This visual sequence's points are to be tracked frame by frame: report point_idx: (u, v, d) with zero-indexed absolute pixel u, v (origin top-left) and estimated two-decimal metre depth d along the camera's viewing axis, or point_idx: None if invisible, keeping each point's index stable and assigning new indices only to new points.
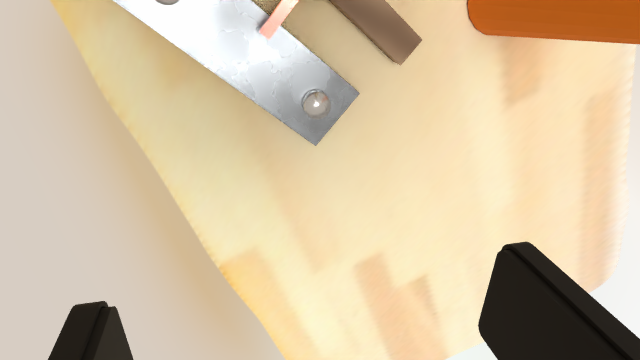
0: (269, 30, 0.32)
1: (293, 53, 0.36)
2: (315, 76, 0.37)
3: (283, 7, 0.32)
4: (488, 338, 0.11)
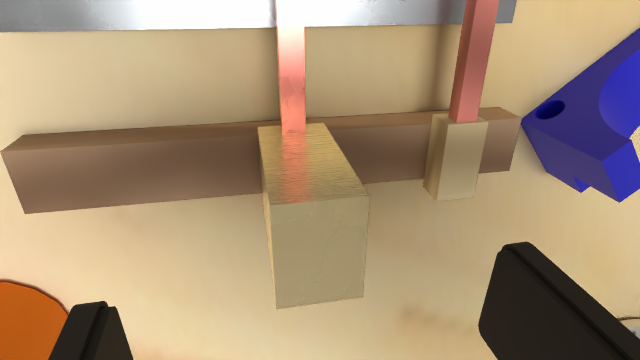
0: (287, 7, 0.14)
1: None
2: None
3: (294, 66, 0.15)
4: (488, 338, 0.11)
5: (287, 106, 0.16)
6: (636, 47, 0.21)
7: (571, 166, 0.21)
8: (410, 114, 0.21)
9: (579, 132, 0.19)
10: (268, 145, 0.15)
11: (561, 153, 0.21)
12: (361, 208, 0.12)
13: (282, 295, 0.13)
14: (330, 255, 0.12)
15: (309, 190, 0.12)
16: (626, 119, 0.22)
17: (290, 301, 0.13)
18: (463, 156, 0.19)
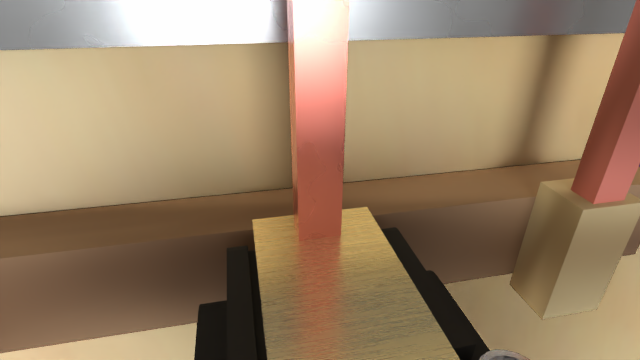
0: (315, 8, 0.07)
1: None
2: None
3: (325, 124, 0.08)
4: None
5: (308, 195, 0.08)
6: None
7: None
8: (491, 173, 0.13)
9: None
10: (275, 279, 0.08)
11: None
12: None
13: None
14: None
15: None
16: None
17: None
18: (595, 255, 0.11)
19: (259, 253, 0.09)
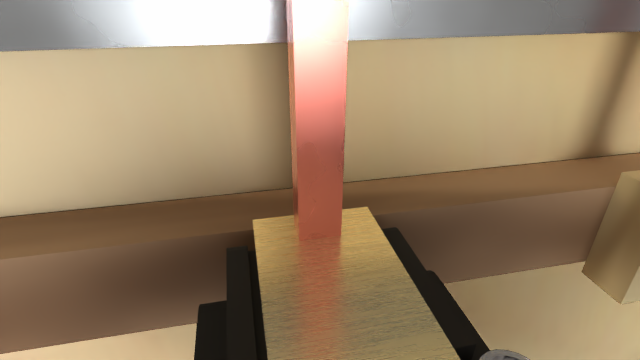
0: (315, 8, 0.07)
1: None
2: None
3: (325, 124, 0.08)
4: None
5: (308, 195, 0.08)
6: None
7: None
8: (565, 164, 0.14)
9: None
10: (275, 279, 0.08)
11: None
12: None
13: None
14: None
15: None
16: None
17: None
18: None
19: (259, 253, 0.09)
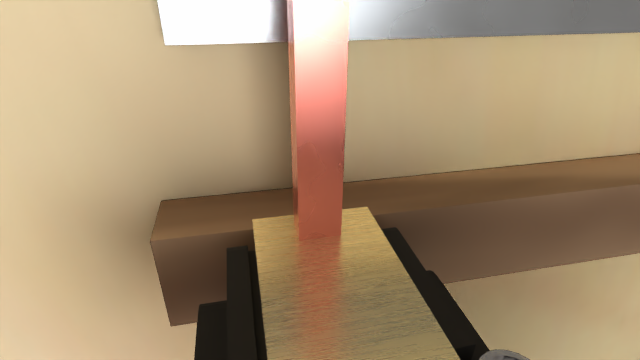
0: (316, 8, 0.07)
1: None
2: None
3: (325, 124, 0.08)
4: None
5: (308, 195, 0.08)
6: None
7: None
8: None
9: None
10: (275, 279, 0.08)
11: None
12: None
13: None
14: None
15: None
16: None
17: None
18: None
19: (259, 253, 0.09)
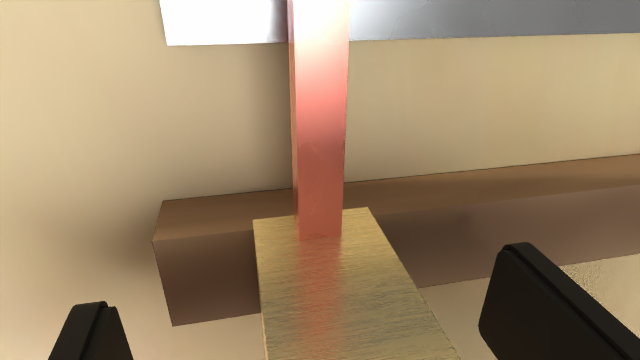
0: (316, 9, 0.07)
1: None
2: None
3: (326, 124, 0.08)
4: (488, 338, 0.11)
5: (309, 195, 0.08)
6: None
7: None
8: None
9: None
10: (275, 280, 0.08)
11: None
12: None
13: None
14: None
15: None
16: None
17: None
18: None
19: (259, 253, 0.09)
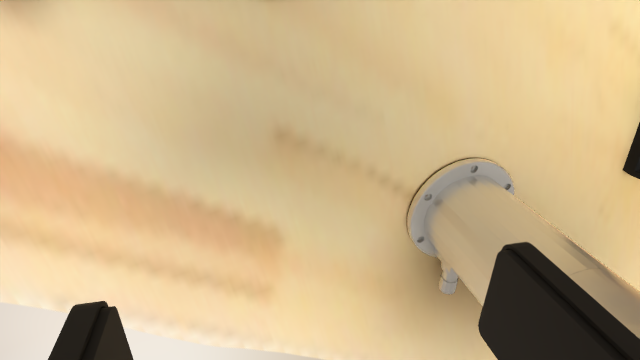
0: None
1: None
2: None
3: None
4: (488, 338, 0.11)
5: None
6: None
7: None
8: None
9: None
10: None
11: None
12: None
13: None
14: None
15: None
16: None
17: None
18: None
19: None
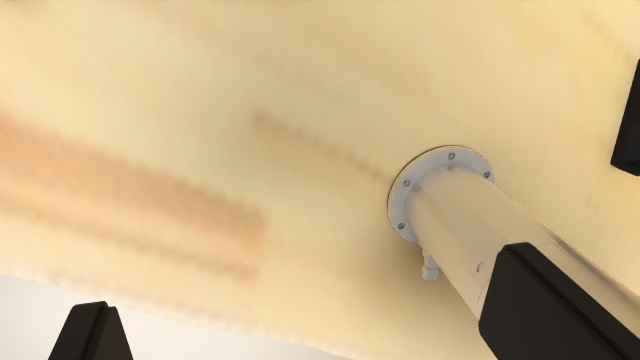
0: None
1: None
2: None
3: None
4: (488, 338, 0.11)
5: None
6: None
7: None
8: None
9: None
10: None
11: None
12: None
13: None
14: None
15: None
16: None
17: None
18: None
19: None
